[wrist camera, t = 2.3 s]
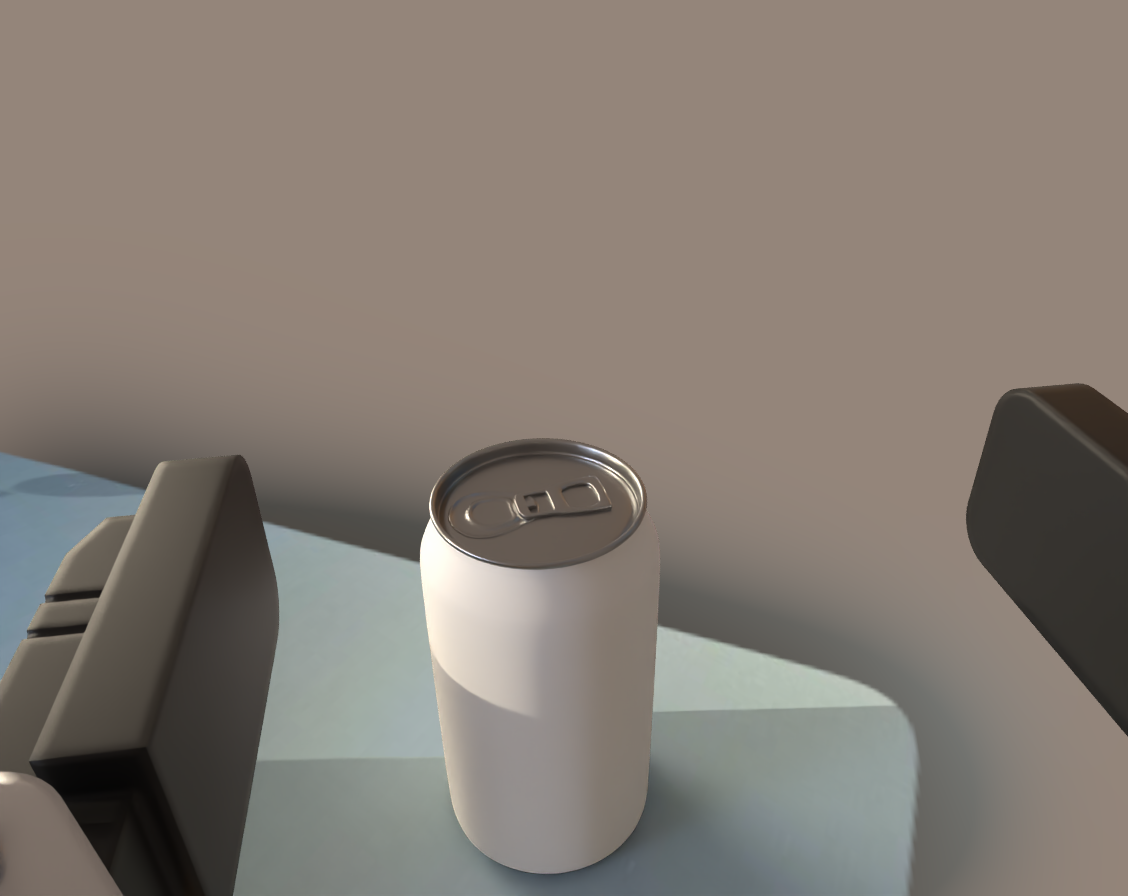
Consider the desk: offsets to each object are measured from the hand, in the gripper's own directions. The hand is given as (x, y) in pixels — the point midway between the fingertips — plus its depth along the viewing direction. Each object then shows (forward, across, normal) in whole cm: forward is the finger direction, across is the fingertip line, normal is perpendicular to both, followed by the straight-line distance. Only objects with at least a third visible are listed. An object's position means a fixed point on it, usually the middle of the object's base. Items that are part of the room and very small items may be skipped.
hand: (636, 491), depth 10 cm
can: (+11, 0, +20) cm, 23 cm away
